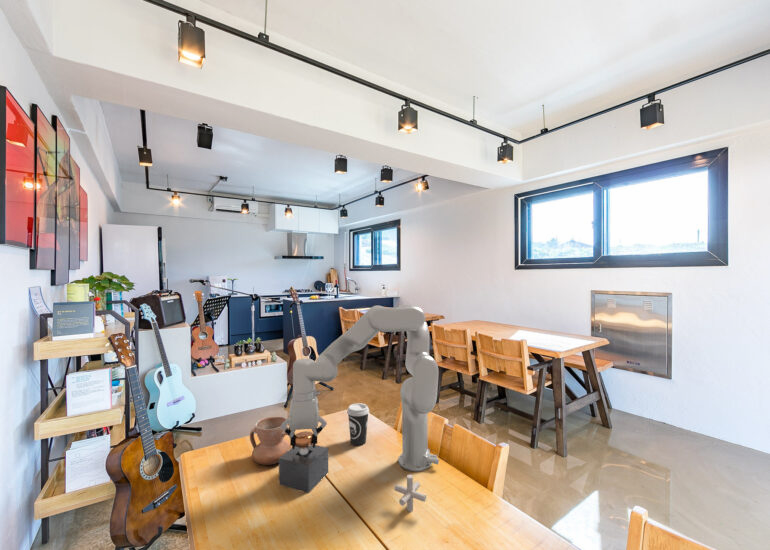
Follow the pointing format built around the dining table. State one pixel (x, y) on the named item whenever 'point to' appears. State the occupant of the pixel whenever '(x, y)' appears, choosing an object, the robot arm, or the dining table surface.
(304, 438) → the copper pin
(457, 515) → the dining table surface
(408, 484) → the light grey toy jack
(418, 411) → the robot arm
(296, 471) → the hitch block
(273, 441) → the ceramic jug
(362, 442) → the coffee cup
